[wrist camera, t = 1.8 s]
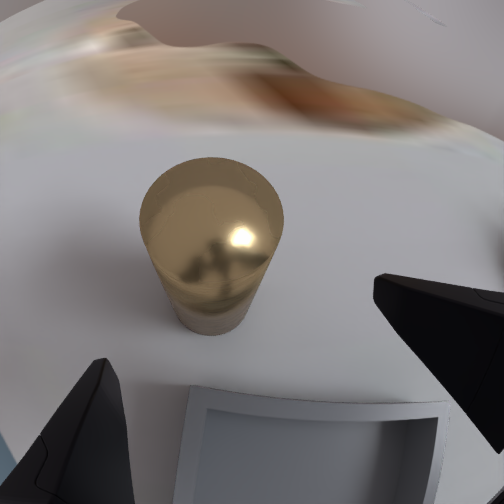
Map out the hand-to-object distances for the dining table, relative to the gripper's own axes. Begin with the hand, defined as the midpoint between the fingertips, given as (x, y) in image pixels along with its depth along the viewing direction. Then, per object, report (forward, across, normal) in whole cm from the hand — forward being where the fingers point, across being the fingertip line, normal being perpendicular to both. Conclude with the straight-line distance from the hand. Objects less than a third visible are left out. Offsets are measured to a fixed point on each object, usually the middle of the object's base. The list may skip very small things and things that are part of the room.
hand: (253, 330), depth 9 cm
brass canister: (+11, 0, +5) cm, 12 cm away
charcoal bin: (0, -1, +16) cm, 16 cm away
